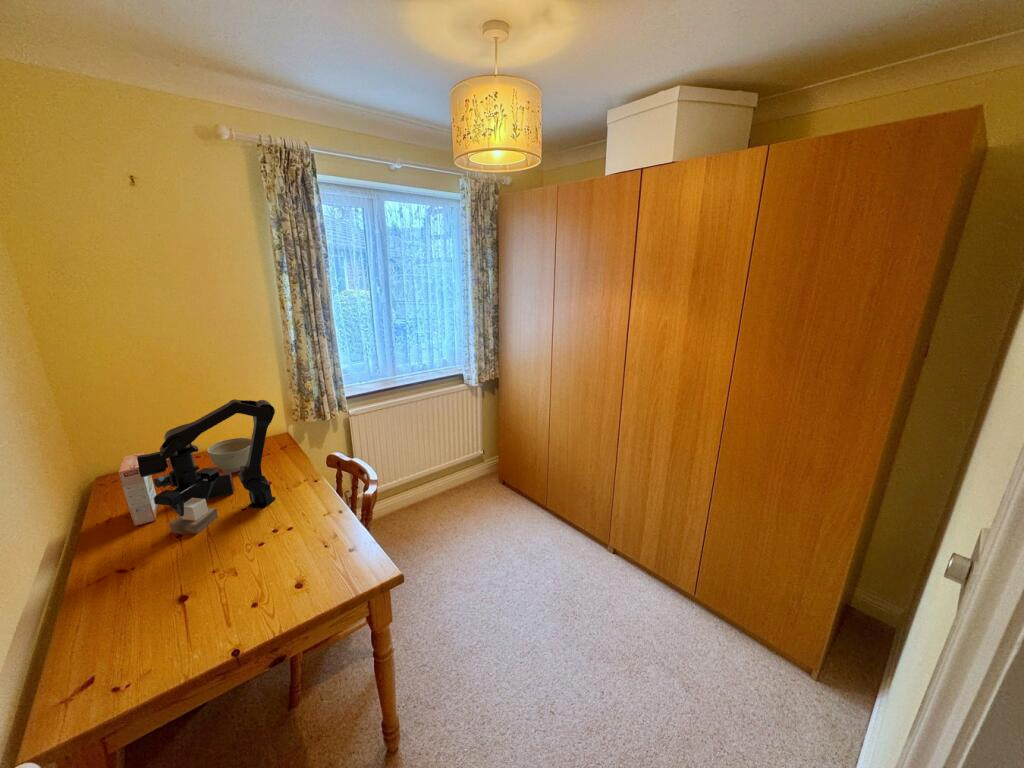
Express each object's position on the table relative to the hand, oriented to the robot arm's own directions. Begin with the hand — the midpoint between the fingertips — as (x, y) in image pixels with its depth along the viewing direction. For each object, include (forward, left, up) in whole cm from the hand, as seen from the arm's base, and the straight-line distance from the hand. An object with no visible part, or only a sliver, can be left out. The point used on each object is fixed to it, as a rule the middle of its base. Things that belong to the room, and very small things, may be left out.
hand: (194, 507), depth 134 cm
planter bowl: (+18, -36, -7) cm, 41 cm away
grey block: (+1, +1, -7) cm, 7 cm away
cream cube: (0, 0, -3) cm, 3 cm away
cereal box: (+23, -2, -7) cm, 24 cm away
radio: (+10, -15, -7) cm, 19 cm away
